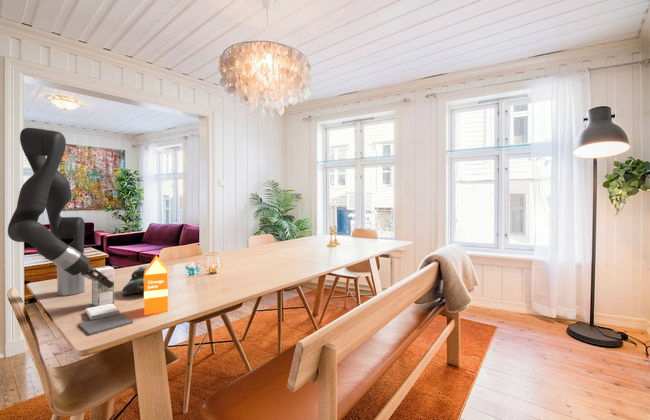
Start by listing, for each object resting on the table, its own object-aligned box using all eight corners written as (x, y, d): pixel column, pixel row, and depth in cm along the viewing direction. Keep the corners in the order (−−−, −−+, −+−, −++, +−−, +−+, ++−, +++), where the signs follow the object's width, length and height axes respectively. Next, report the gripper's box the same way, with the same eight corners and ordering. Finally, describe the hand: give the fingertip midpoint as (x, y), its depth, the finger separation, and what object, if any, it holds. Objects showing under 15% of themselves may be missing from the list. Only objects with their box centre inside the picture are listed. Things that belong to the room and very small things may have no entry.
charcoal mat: (77, 325, 100) (77, 323, 100) (119, 314, 110) (119, 312, 110) (89, 335, 93) (89, 333, 93) (133, 322, 102) (133, 321, 102)
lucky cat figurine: (114, 296, 129) (119, 264, 135) (139, 299, 139) (143, 269, 145) (140, 289, 125) (145, 257, 131) (164, 293, 135) (167, 263, 141)
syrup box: (108, 300, 124) (108, 265, 124) (114, 303, 121) (114, 267, 120) (92, 304, 119) (91, 267, 119) (97, 307, 116) (97, 270, 115)
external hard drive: (90, 321, 102) (85, 312, 111) (119, 314, 108) (112, 306, 117) (90, 316, 102) (85, 308, 111) (119, 309, 108) (112, 302, 117)
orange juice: (143, 315, 109) (143, 260, 108) (144, 307, 117) (144, 255, 116) (168, 311, 113) (167, 258, 112) (167, 304, 121) (167, 254, 120)
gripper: (87, 254, 109) (124, 279, 120) (71, 249, 117) (107, 274, 127) (69, 271, 105) (109, 296, 115) (54, 266, 113) (92, 289, 123)
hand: (108, 284), depth 121 cm, fingers closed on syrup box, 6 cm apart
